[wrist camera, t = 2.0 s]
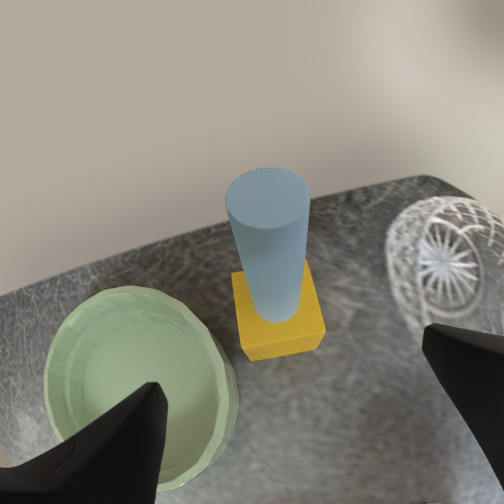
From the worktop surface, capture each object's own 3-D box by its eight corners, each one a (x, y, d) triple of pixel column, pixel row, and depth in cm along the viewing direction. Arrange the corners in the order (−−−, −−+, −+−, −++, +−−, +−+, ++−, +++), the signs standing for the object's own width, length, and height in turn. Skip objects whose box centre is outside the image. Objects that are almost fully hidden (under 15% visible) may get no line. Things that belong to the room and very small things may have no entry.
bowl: (223, 503, 13) (207, 523, 9) (66, 439, 16) (33, 436, 12) (253, 321, 21) (246, 299, 17) (100, 297, 23) (74, 275, 20)
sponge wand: (316, 349, 19) (367, 242, 7) (250, 361, 19) (194, 275, 7) (302, 290, 22) (316, 142, 10) (241, 301, 22) (192, 163, 10)
